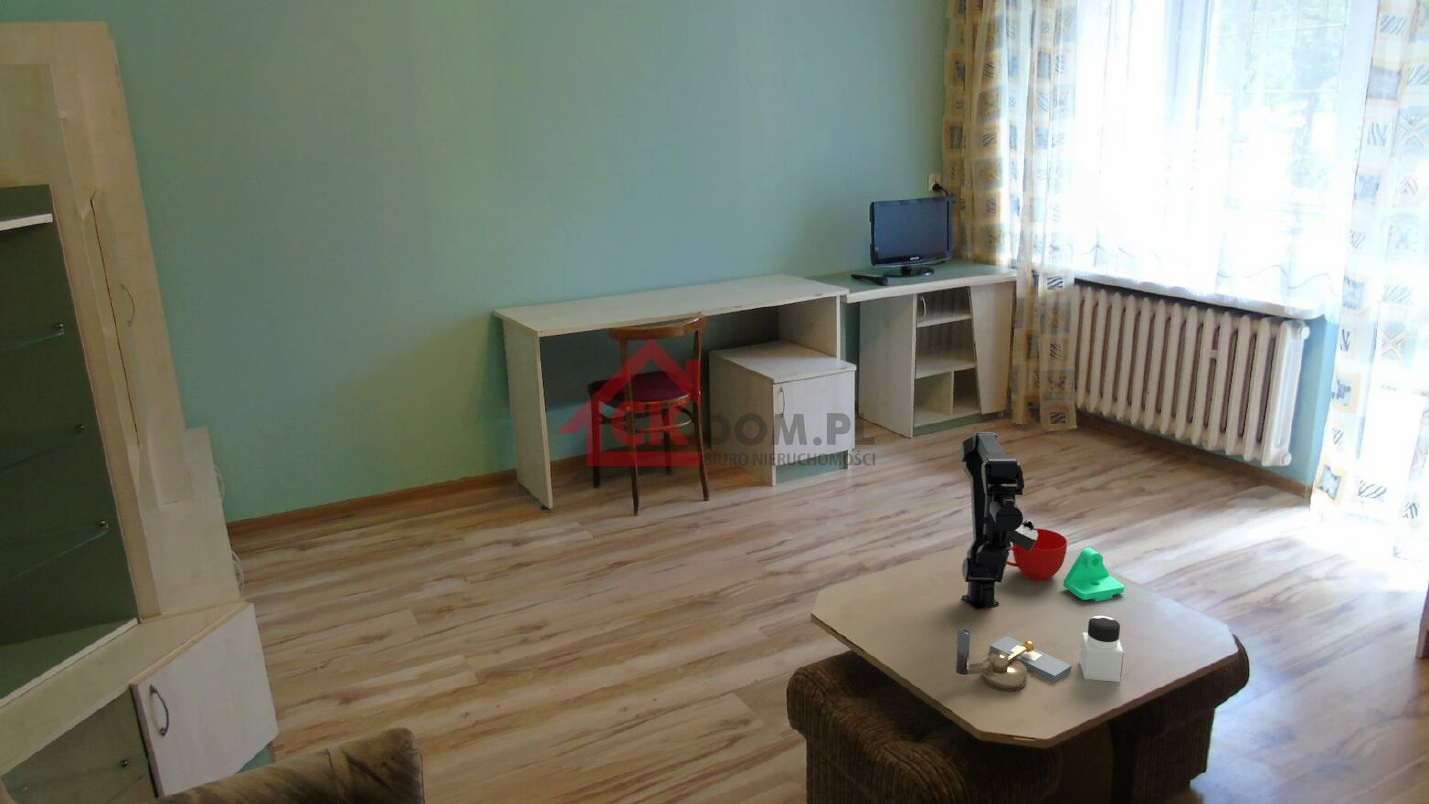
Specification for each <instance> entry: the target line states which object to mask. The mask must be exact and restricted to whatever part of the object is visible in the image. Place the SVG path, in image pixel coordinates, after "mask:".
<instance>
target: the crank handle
mask: <svg viewBox="0 0 1429 804" xmlns="http://www.w3.org/2000/svg"><path fill="white" fill-rule="evenodd" d="M970 640H971V632H970V631H969V630H967V629H959V630H958V631H957V641H956V643H957V646H956V662H955V663H956V664H955V672H956V673H957V674H958V675H962V676H968V675H979V674H980V678H981V680H982V681H983V682H984V683H985V684H986V685H987V686H988V687H990V688H993V689H996V690H1001V691H1010V692H1011V691H1017V690H1019V689H1022V688H1024V687H1025V686H1026V684H1027V679H1028V678H1027V677H1028V669H1027V668H1026V667H1025V665H1024V664H1022V663H1021V662H1020V661H1018V660H1015V659H1016V658H1017V657H1019V656H1020V655H1022V654H1024V653H1025V652H1028V653H1030V652H1032V651H1033V650H1034V649H1035V644H1034V643H1033V642H1032V641H1030V640H1027V641H1024V642H1023V647H1022V648H1021V649H1019V650H1018V651H1016V652H1015V653H1013V654H1011V655H1010V656H1008V654H1006V653H1004V652H1001V651H995V652H991V653H990V656H989V657H987V658H986V659H984V660H983V661H982V662H980V663H979V662H978V663H969V662H970V660H969V659H970V643H971V642H970Z"/></svg>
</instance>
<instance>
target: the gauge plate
mask: <svg viewBox="0 0 1429 804" xmlns="http://www.w3.org/2000/svg"><path fill="white" fill-rule="evenodd" d="M1023 644H1024V642H1022V641H1018V640H1017V639H1014V638H1013V637H1010V636H1008V635H1006V636H1004V637H1002V638H1000V639H999V640H997V641H995V642H993V643H992V644H990V645H989V652H991V653H992V652H995V651H1001V652H1004V653H1006V654H1008V656H1010V655H1011V654H1013V653H1015V652H1016V651H1018V650H1019V649H1021V648H1022V647H1023ZM1015 660H1018V661H1020V662H1021V663H1022V664H1024V665H1025V667H1026V668H1027V671H1029V672H1032V673H1034V674H1036V675H1039V676H1041V677H1042V678H1045V679H1047V680H1049V681H1051V682H1052V683H1056V682H1058V681H1059V680H1060V679H1063V678H1064V677H1065V676H1067V675H1068V674H1070V673H1072V665H1071V664H1069V663H1067V662H1065V661H1062V660H1061V659H1058V658H1056V657H1053V656H1051V655H1050V654H1047V653H1045V652H1042V651H1041V650H1039V649H1036V648H1034V650H1033V651H1032V652H1030V653H1028V652H1025V653H1024V654H1022V655H1020V656H1019V657H1017V658H1016V659H1015Z"/></svg>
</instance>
